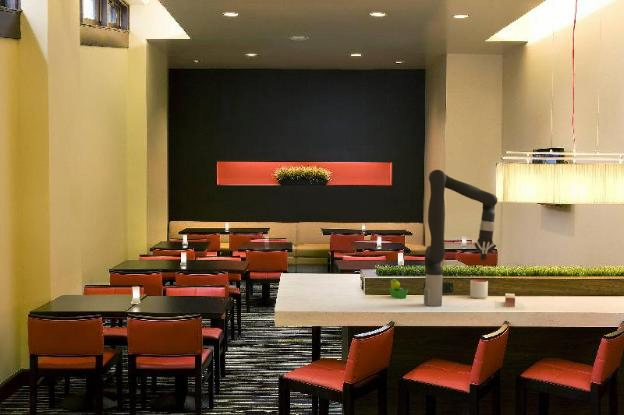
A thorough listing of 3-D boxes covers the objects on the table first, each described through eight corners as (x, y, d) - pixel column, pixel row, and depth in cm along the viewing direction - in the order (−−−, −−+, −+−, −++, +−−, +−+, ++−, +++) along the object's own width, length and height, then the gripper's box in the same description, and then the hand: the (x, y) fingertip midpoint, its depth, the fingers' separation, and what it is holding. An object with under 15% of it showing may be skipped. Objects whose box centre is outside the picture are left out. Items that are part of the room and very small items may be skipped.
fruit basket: (408, 298, 475) (409, 279, 474) (395, 299, 472) (395, 280, 471) (399, 295, 485) (400, 276, 485) (386, 296, 482) (386, 277, 481)
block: (515, 298, 448) (514, 293, 463) (505, 297, 449) (505, 293, 464) (514, 307, 448) (514, 302, 463) (505, 306, 449) (505, 302, 464)
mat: (525, 310, 440) (525, 309, 440) (494, 309, 444) (494, 308, 444) (523, 303, 464) (523, 302, 464) (494, 302, 467) (494, 301, 467)
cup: (482, 299, 475) (483, 282, 474) (467, 297, 481) (467, 280, 481) (490, 297, 483) (490, 280, 482) (474, 295, 489) (475, 279, 488)
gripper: (495, 229, 455) (491, 260, 457) (472, 227, 453) (469, 258, 455) (500, 231, 448) (496, 262, 449) (477, 229, 446) (473, 260, 447)
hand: (482, 260), depth 452 cm, fingers closed
